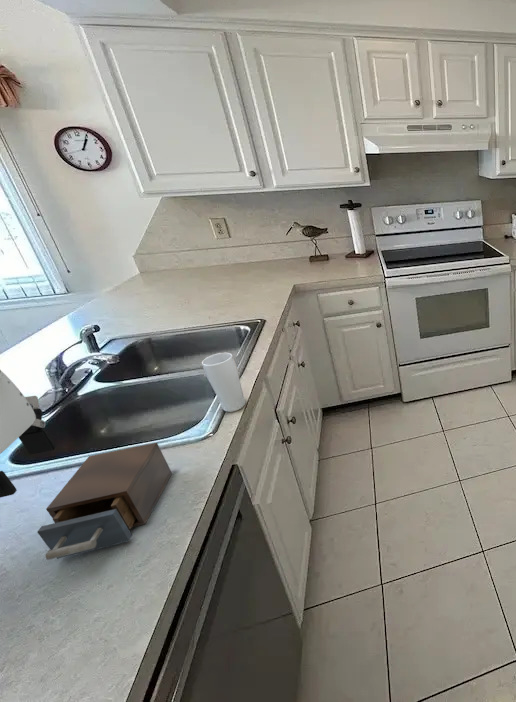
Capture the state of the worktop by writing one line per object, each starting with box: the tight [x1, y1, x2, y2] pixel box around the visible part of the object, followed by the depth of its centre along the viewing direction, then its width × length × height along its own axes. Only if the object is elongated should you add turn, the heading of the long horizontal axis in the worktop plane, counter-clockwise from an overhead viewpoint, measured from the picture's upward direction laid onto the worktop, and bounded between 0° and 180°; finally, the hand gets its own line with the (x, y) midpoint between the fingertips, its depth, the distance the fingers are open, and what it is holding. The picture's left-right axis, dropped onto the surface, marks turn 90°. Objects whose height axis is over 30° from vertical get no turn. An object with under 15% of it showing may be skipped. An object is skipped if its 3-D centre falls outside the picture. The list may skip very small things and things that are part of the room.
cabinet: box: [45, 442, 173, 529], centre depth 80 cm, size 14×12×9 cm
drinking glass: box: [201, 352, 246, 413], centre depth 107 cm, size 7×7×15 cm
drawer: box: [36, 495, 136, 561], centre depth 74 cm, size 16×10×7 cm, turn 18°
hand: (24, 472), depth 62 cm, fingers open, 9 cm apart
